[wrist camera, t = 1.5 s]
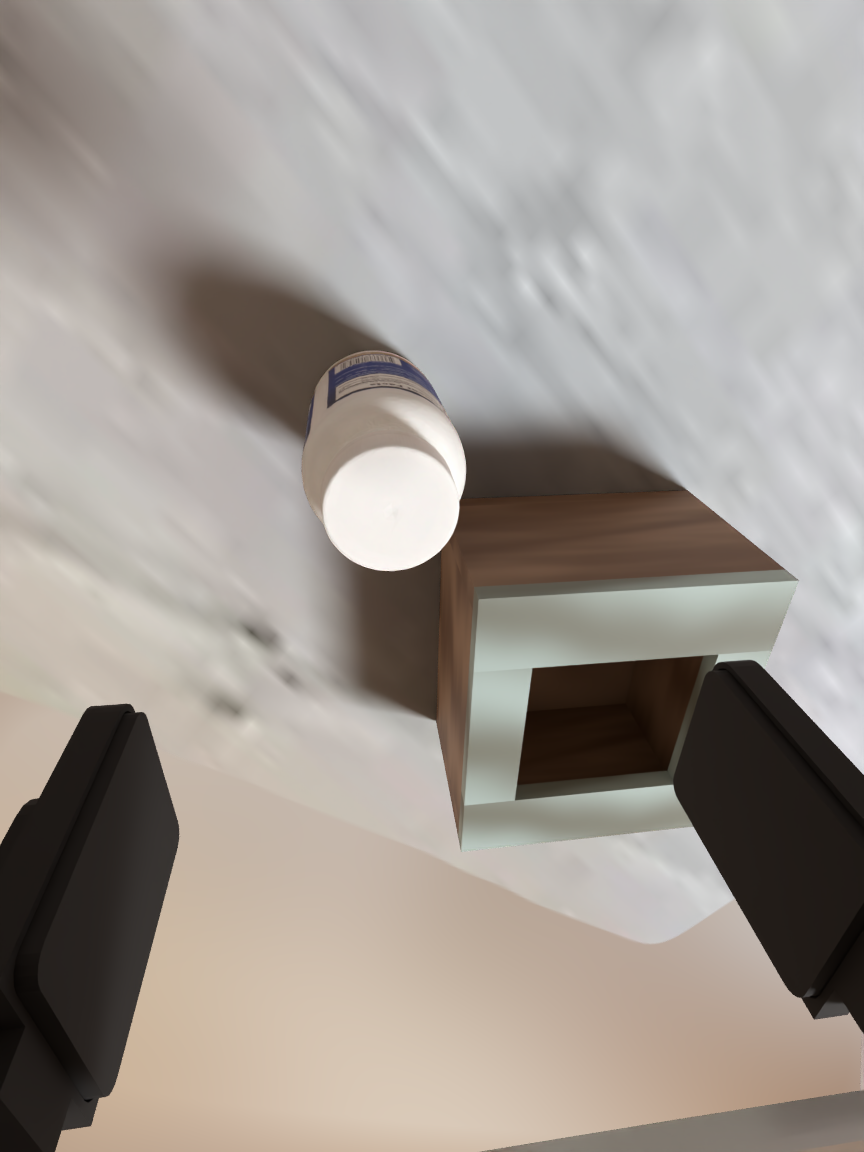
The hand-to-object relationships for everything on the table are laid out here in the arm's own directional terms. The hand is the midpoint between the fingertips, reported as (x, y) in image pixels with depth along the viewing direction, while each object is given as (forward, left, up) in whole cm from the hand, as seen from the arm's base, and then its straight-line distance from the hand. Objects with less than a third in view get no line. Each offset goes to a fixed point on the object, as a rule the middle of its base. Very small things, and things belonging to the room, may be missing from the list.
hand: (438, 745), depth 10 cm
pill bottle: (0, 0, -18) cm, 18 cm away
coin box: (+11, +9, -18) cm, 23 cm away
